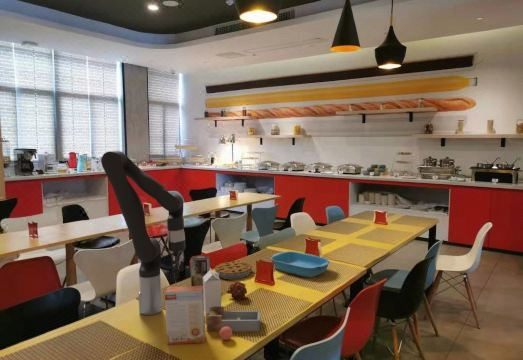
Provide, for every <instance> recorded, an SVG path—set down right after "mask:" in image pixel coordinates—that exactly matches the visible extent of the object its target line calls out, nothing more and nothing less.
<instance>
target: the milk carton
mask: <svg viewBox="0 0 523 360" xmlns="http://www.w3.org/2000/svg"><path fill="white" fill-rule="evenodd" d="M218 275H219V274H218V273H217V272H215V271H213V270H212V268H211V267H210V271H209V272H208V273H207V274H206V275H204V276H203V296H204V315H209V314H210V307H218V306H222V293H221V292H222V288H221V287H222V284H221V283H222V282H221V277H219V276H218Z"/></svg>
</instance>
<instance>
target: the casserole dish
mask: <svg viewBox="0 0 523 360" xmlns="http://www.w3.org/2000/svg"><path fill="white" fill-rule="evenodd" d="M270 260H271V263H272V262H274V264H275V267H274V268H275V269H276V270H278V271H281V272H284V271H285V272H284V273H288V274H292V275H295V274H296V276H299V277H300V276H301V277H303V278H314V277H317V276H319V275H321V274H323V273H324V272H325V271H327V269H328V266H329V264H330V259H329V258H325V257H322V256H317V255H313V254H307V253H304V252H299V251H291V250H290V251H284V252H277V253H274V254H273V255H272V256H271V257H270Z"/></svg>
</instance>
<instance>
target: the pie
mask: <svg viewBox="0 0 523 360" xmlns="http://www.w3.org/2000/svg"><path fill="white" fill-rule="evenodd" d="M252 270H253V266H252V265H251V264H250V263H249V262H246V261H240V260H237V261H234V260H231V261H229V262H228V261H224V262H223V263H218V264H217V265H215V267H214V273H215V272H217V273H218V274H219V275H218V276H220V277H219V278H220V279H224V278H225V279H224V280H236V279H235V278H238V279H242V277H243V278H245V276H246V277H248V276H249V275H250V273H251V272H252ZM247 275H248V276H247Z"/></svg>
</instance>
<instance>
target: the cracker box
mask: <svg viewBox="0 0 523 360" xmlns="http://www.w3.org/2000/svg"><path fill="white" fill-rule="evenodd" d="M164 301H165V324H166V325H165V326H166V344H167V345H178V344H179V345H180V344H181V345H182V344H183V345H184V344H201V343H202V344H203V343H204V342H205V337H206V329H205V328H206V325H205V323H206V321H205V310H204V296H203V286H191V285H190V286H168V287H166V290H165V292H164Z"/></svg>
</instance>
